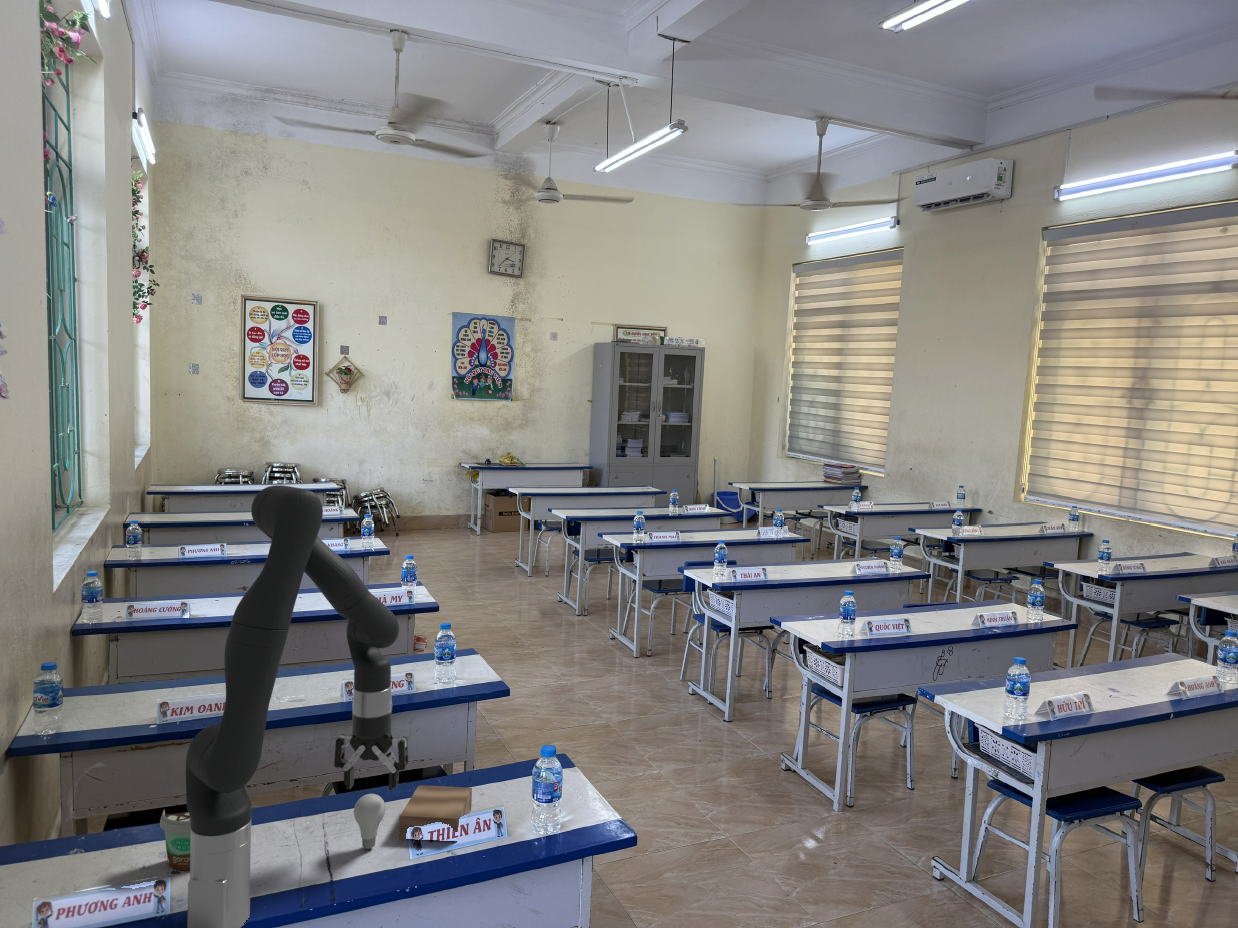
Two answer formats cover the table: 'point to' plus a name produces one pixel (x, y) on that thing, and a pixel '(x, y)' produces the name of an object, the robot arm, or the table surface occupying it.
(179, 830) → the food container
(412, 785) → the table surface
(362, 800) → the lightbulb
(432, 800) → the block
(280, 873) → the table surface
